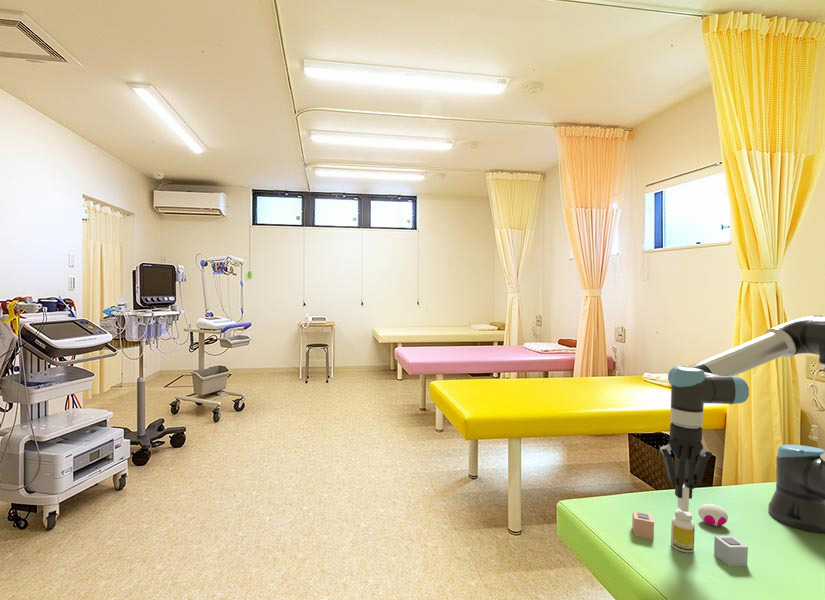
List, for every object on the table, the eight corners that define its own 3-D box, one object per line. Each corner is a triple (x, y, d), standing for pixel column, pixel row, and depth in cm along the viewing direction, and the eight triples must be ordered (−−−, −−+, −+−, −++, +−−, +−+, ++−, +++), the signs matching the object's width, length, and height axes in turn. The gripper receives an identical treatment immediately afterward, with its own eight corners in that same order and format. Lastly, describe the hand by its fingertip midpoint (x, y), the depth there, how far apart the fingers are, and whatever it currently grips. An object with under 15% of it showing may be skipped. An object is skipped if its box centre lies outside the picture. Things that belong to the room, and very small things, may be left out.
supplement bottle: (697, 554, 115) (698, 518, 114) (675, 551, 116) (676, 516, 116) (688, 543, 120) (689, 508, 120) (667, 540, 121) (668, 506, 121)
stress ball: (700, 535, 130) (704, 523, 127) (693, 510, 136) (697, 498, 133) (730, 539, 128) (734, 527, 124) (721, 513, 134) (726, 501, 130)
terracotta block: (651, 530, 126) (651, 513, 126) (653, 539, 121) (654, 521, 121) (632, 527, 128) (632, 509, 128) (634, 535, 123) (634, 517, 123)
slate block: (731, 554, 115) (732, 535, 115) (747, 566, 110) (747, 546, 110) (714, 554, 115) (714, 535, 115) (728, 566, 110) (729, 546, 110)
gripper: (703, 421, 120) (700, 504, 121) (654, 418, 122) (652, 500, 122) (719, 430, 113) (716, 518, 113) (667, 426, 114) (664, 514, 115)
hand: (682, 509), depth 118 cm, fingers closed
